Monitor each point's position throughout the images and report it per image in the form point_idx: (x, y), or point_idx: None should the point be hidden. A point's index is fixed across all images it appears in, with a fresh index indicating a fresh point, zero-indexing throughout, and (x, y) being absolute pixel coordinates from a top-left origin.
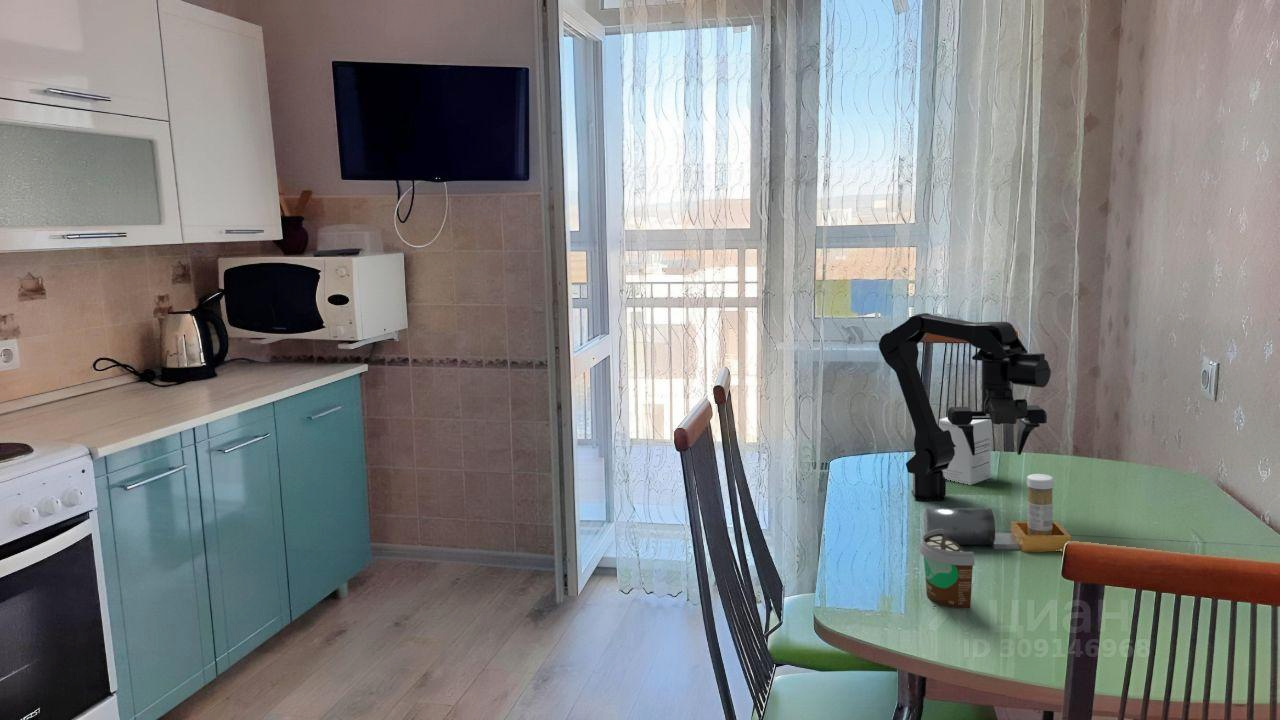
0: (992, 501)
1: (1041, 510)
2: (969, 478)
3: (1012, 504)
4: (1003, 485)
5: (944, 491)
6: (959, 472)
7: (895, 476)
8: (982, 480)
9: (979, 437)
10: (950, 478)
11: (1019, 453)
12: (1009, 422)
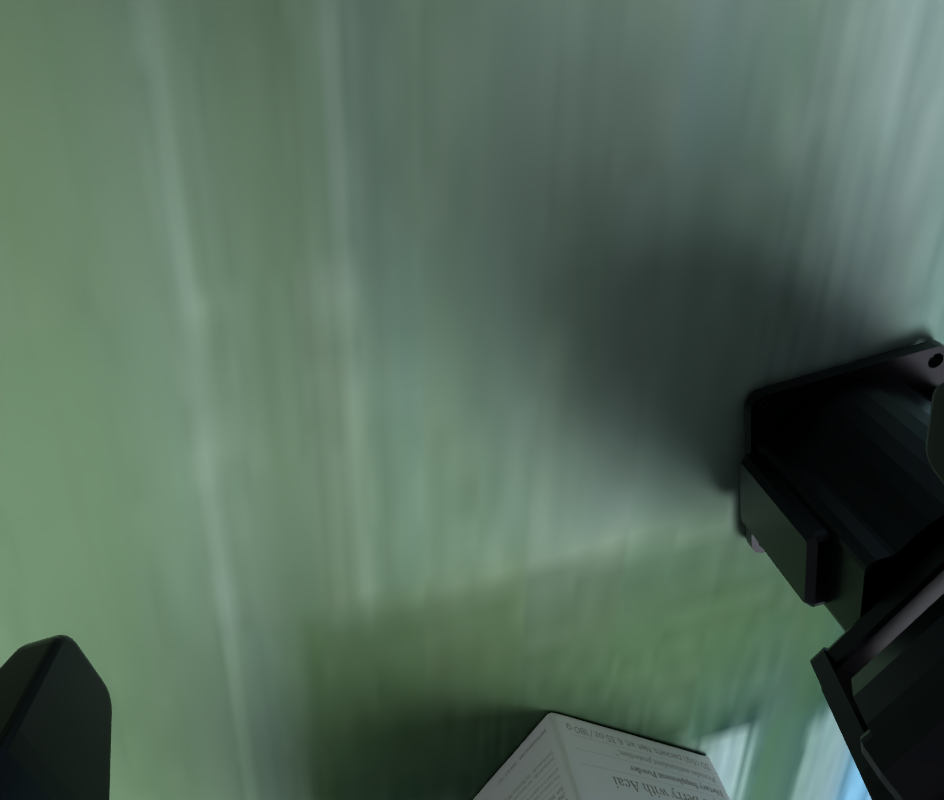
0: (418, 477)
1: None
2: (567, 749)
3: (272, 453)
4: (358, 766)
5: (763, 470)
6: (631, 785)
7: None
8: (478, 793)
9: None
10: (659, 752)
11: (33, 654)
12: None
